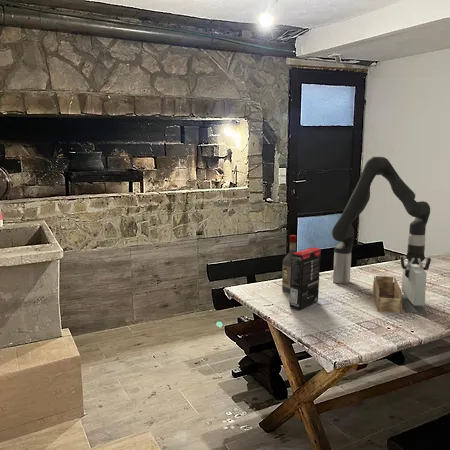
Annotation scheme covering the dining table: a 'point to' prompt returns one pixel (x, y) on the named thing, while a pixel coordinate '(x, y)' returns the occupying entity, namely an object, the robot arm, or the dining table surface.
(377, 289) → the carton
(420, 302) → the skincare box
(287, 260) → the liquor
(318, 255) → the graphics card box
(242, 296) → the dining table surface
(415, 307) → the mat
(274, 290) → the dining table surface
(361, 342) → the dining table surface
